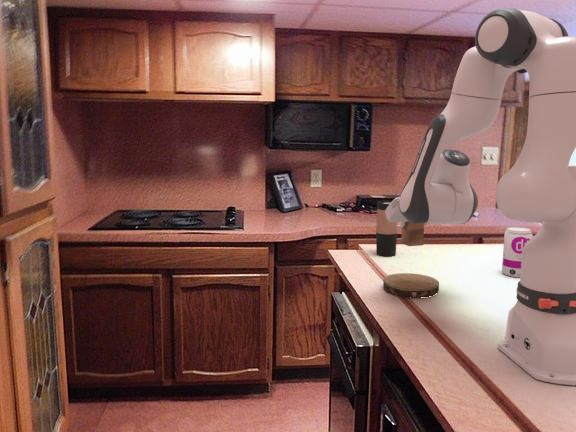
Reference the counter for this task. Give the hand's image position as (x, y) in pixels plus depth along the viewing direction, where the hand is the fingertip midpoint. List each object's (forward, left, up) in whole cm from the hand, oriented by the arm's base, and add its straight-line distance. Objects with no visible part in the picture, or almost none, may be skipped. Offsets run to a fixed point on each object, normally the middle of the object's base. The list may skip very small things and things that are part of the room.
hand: (411, 225), depth 145 cm
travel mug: (+41, +3, -19) cm, 46 cm away
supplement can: (+17, -36, -19) cm, 44 cm away
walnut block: (-1, 0, -5) cm, 5 cm away
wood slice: (-1, 0, -20) cm, 20 cm away
